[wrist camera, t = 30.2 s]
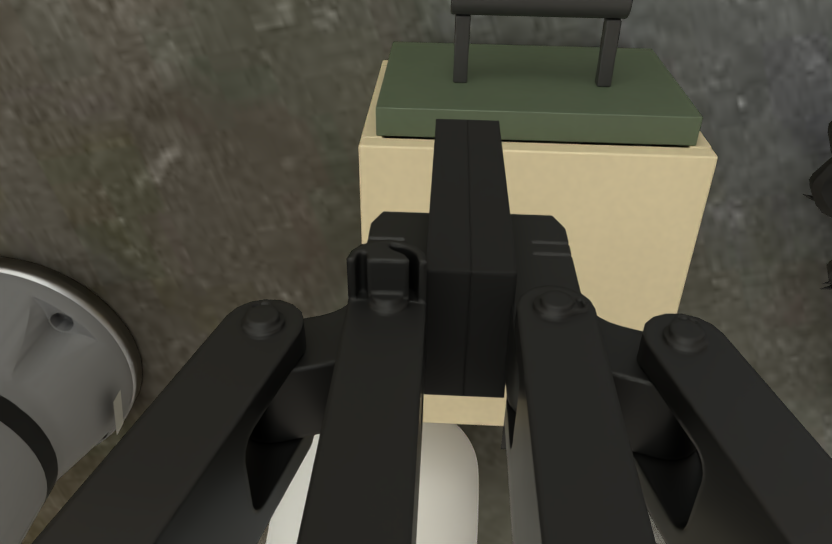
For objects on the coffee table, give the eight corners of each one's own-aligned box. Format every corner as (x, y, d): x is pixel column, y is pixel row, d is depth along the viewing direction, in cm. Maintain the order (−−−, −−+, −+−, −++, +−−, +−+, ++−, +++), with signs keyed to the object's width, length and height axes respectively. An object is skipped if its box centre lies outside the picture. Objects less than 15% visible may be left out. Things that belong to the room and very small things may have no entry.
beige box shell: (382, 59, 37) (358, 145, 28) (655, 67, 36) (719, 156, 28) (385, 295, 45) (367, 420, 36) (608, 304, 45) (646, 433, 36)
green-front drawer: (392, -53, 33) (373, -8, 26) (670, -47, 33) (731, 1, 25) (394, 272, 43) (380, 372, 36) (607, 280, 43) (638, 383, 35)
